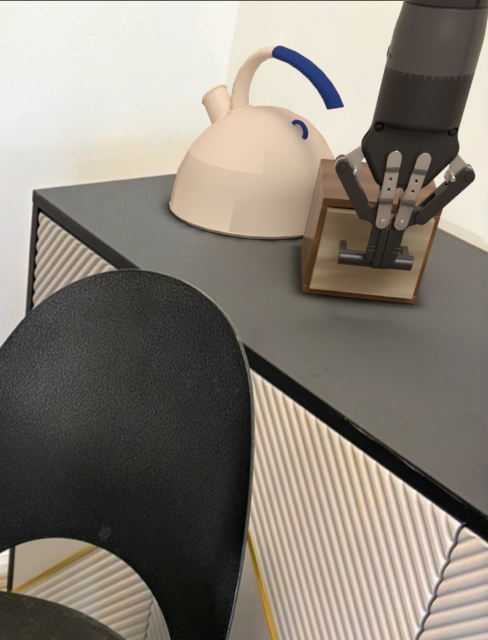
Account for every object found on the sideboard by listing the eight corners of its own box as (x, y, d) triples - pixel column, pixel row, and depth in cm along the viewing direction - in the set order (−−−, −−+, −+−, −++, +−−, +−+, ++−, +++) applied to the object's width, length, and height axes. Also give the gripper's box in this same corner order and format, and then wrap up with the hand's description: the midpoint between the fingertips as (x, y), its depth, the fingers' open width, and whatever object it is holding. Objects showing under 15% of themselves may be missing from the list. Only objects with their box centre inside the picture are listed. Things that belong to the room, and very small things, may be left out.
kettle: (248, 179, 149) (277, 23, 137) (369, 223, 136) (413, 54, 124) (133, 202, 140) (153, 37, 129) (250, 251, 128) (285, 73, 116)
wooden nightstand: (414, 304, 116) (443, 207, 110) (301, 292, 118) (323, 197, 112) (404, 257, 127) (430, 167, 121) (300, 247, 129) (320, 158, 123)
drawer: (415, 316, 112) (440, 236, 106) (309, 305, 113) (328, 225, 108) (402, 255, 125) (423, 181, 120) (308, 246, 127) (324, 173, 122)
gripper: (354, 67, 95) (309, 273, 107) (517, 76, 93) (453, 286, 104) (351, 51, 101) (308, 248, 112) (504, 60, 99) (445, 260, 110)
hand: (378, 266), depth 108 cm, fingers closed
